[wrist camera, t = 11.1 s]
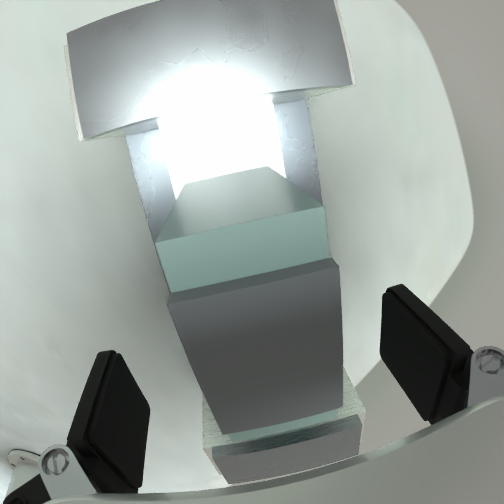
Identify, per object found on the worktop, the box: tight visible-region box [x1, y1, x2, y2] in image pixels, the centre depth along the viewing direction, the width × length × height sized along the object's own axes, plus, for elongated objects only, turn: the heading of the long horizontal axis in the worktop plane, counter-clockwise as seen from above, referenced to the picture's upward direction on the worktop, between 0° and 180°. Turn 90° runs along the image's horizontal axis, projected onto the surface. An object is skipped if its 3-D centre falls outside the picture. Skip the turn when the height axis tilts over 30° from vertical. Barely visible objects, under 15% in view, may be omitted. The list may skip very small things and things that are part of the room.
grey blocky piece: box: [64, 0, 366, 484], centre depth 15 cm, size 24×10×10 cm, turn 10°
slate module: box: [155, 166, 343, 442], centre depth 14 cm, size 5×9×10 cm, turn 11°
